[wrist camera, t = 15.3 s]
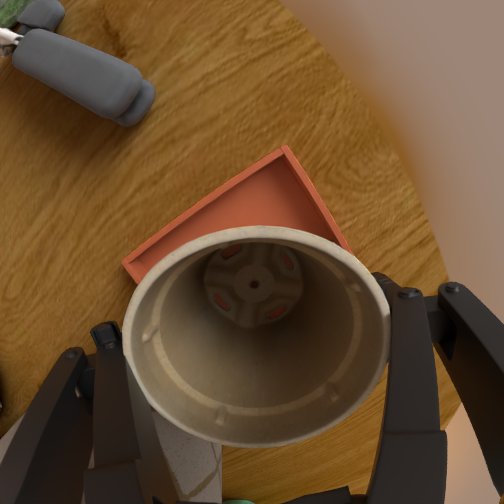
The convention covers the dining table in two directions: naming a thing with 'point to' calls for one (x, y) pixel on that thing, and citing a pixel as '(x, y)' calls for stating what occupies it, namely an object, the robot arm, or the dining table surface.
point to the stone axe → (11, 11)
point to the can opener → (76, 66)
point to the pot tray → (245, 213)
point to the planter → (174, 460)
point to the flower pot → (257, 336)
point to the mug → (237, 502)
